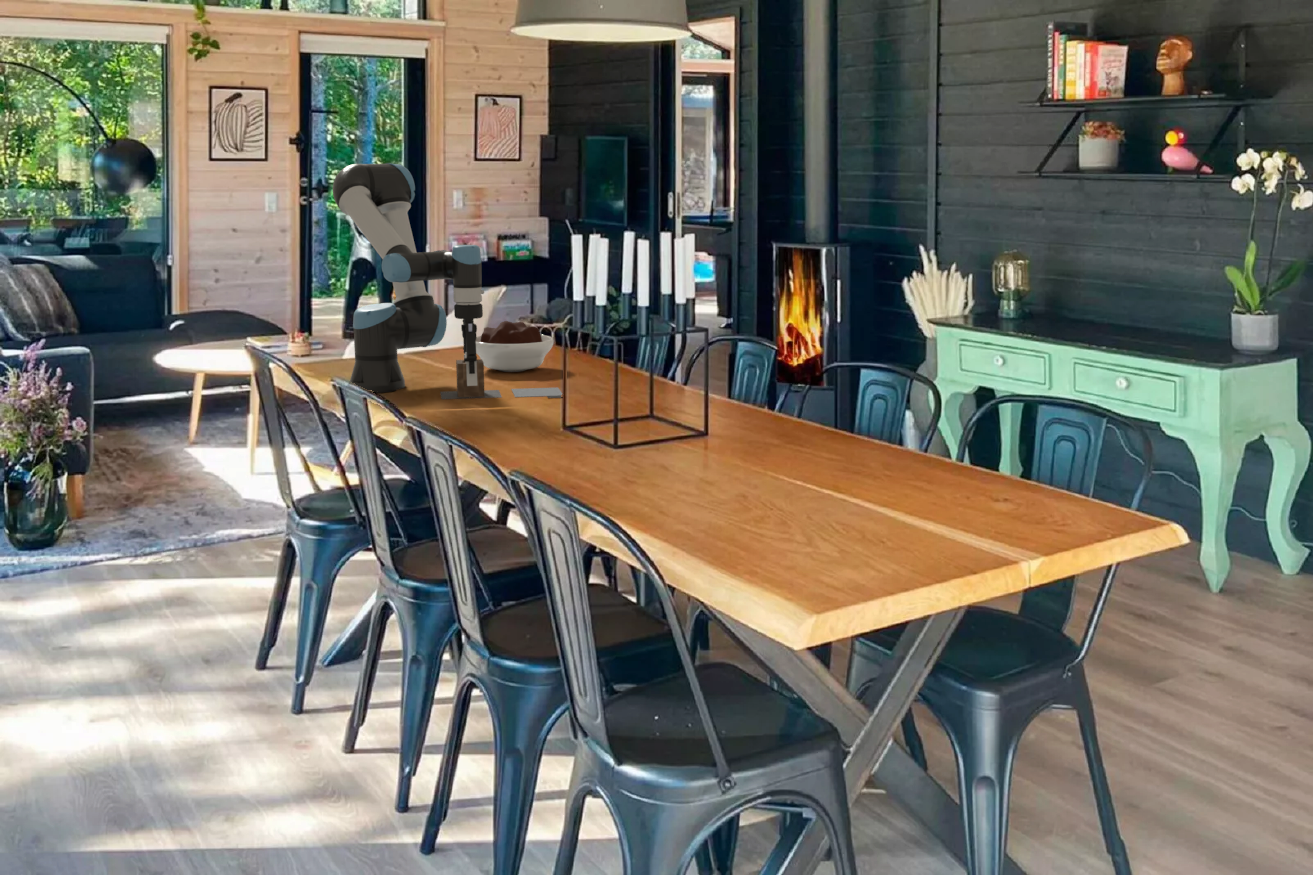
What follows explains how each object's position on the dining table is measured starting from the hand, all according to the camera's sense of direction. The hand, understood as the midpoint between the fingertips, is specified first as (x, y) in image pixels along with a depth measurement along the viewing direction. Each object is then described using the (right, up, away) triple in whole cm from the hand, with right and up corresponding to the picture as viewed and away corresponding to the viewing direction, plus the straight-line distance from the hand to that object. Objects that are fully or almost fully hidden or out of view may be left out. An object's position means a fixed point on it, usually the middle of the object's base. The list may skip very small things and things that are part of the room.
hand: (470, 381), depth 382 cm
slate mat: (+18, -3, +4) cm, 18 cm away
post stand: (0, -4, +1) cm, 4 cm away
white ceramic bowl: (+7, +5, +47) cm, 48 cm away
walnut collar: (0, -3, +1) cm, 4 cm away
